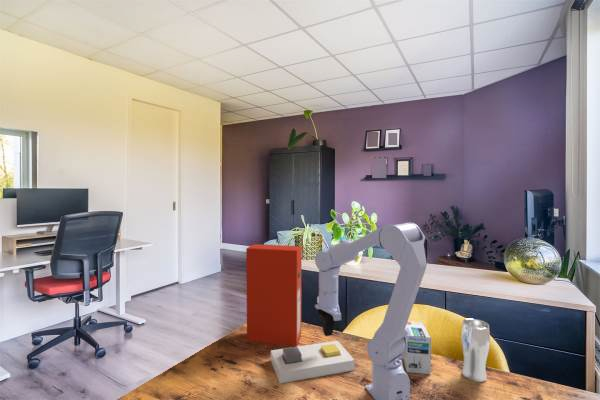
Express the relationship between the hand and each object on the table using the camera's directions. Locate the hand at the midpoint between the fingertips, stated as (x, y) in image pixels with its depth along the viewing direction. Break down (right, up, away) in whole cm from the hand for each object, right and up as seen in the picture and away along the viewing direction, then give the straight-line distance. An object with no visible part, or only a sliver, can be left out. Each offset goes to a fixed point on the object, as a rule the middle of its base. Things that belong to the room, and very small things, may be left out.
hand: (328, 334), depth 96 cm
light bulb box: (+26, -9, 0) cm, 28 cm away
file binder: (-17, -8, +15) cm, 24 cm away
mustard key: (+1, -7, +1) cm, 7 cm away
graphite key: (-11, -7, -3) cm, 13 cm away
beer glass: (+40, -9, -6) cm, 42 cm away
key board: (-5, -9, -1) cm, 10 cm away
